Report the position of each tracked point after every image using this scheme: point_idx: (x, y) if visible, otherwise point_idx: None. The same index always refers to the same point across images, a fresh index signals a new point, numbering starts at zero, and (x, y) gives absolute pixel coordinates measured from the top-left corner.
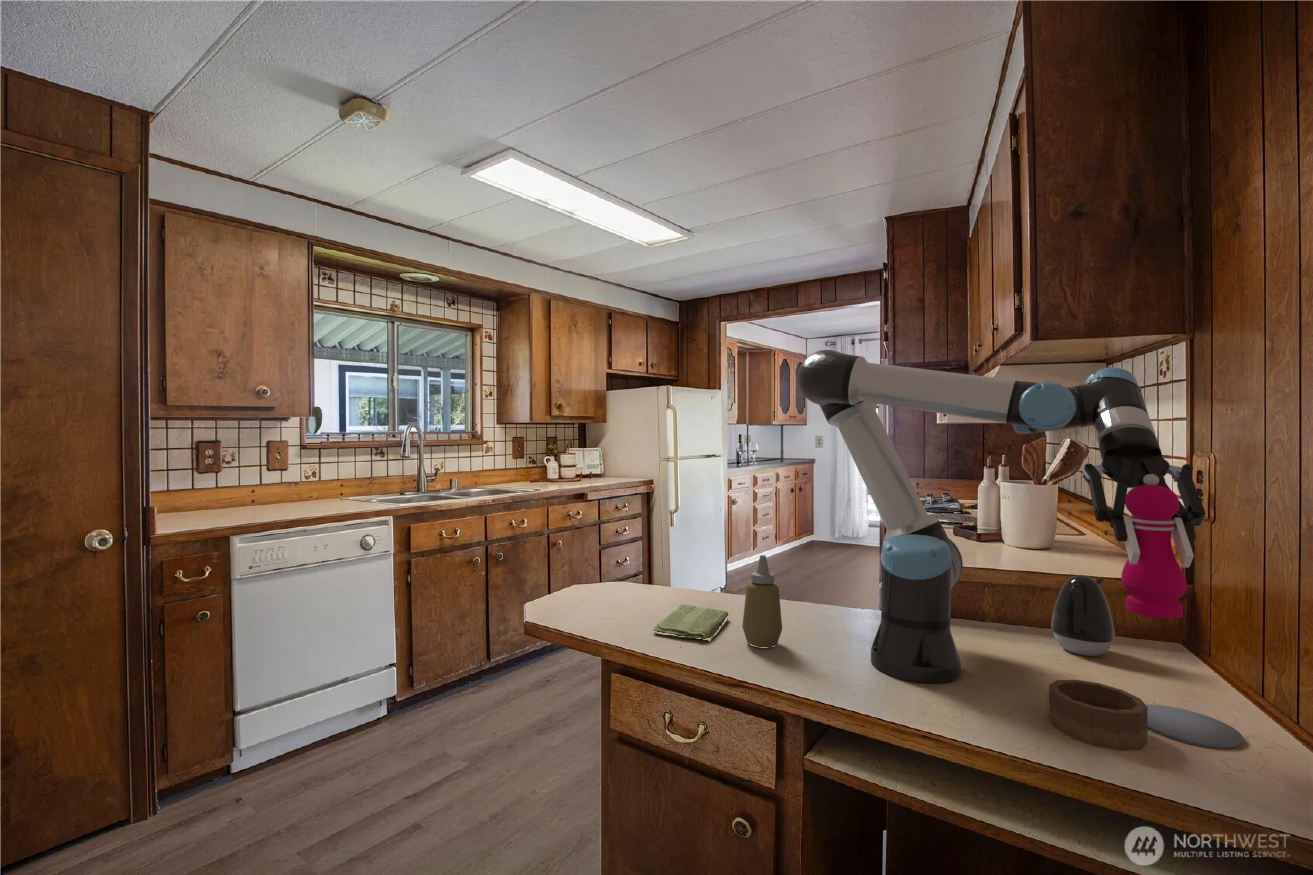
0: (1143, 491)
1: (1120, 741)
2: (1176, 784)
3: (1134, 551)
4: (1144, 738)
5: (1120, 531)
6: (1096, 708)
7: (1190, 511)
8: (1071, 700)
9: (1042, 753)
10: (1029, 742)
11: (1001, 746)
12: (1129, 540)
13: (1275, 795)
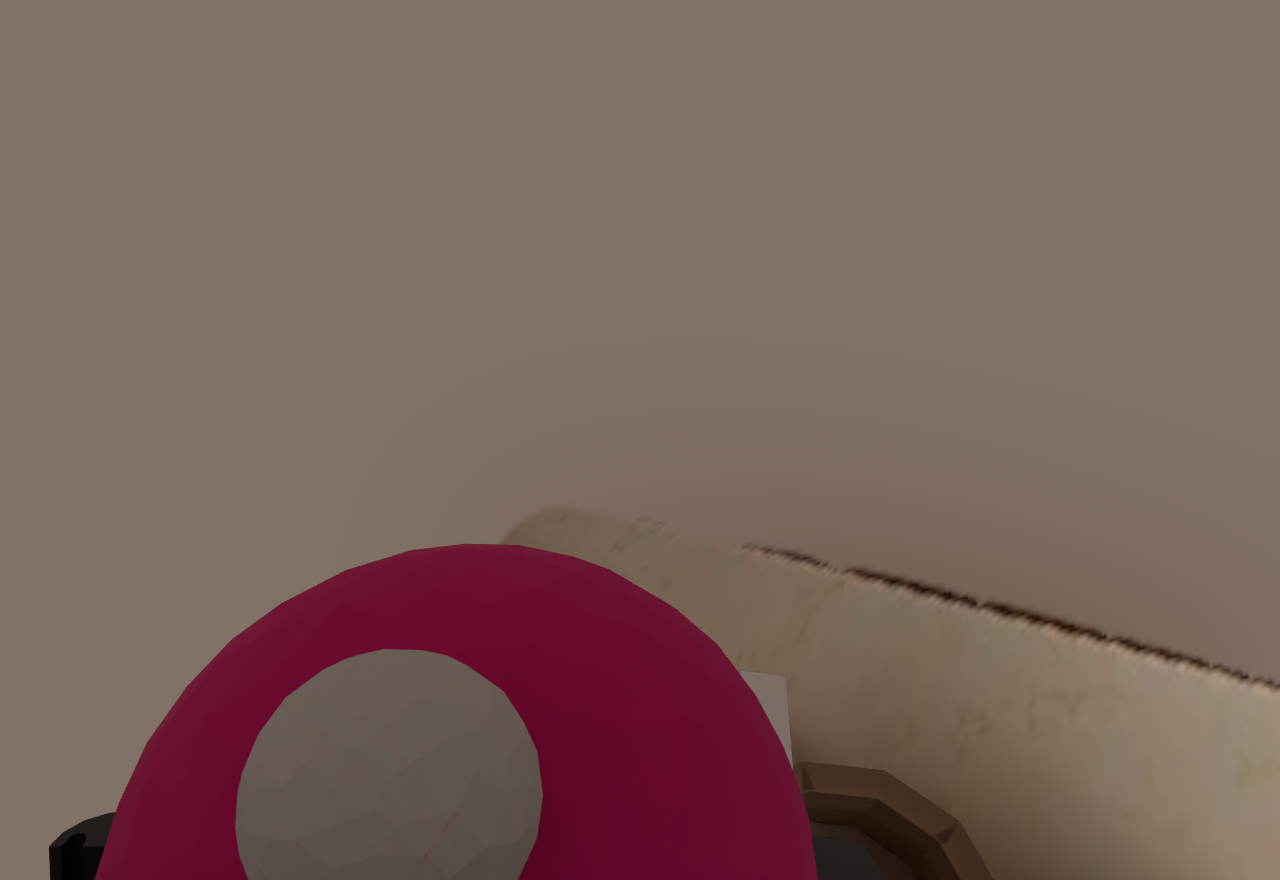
0: (654, 628)
1: None
2: (703, 629)
3: (777, 681)
4: None
5: (849, 869)
6: (872, 779)
7: (60, 845)
8: (948, 829)
9: (1021, 685)
10: (1055, 750)
11: (1137, 688)
12: None
13: None
